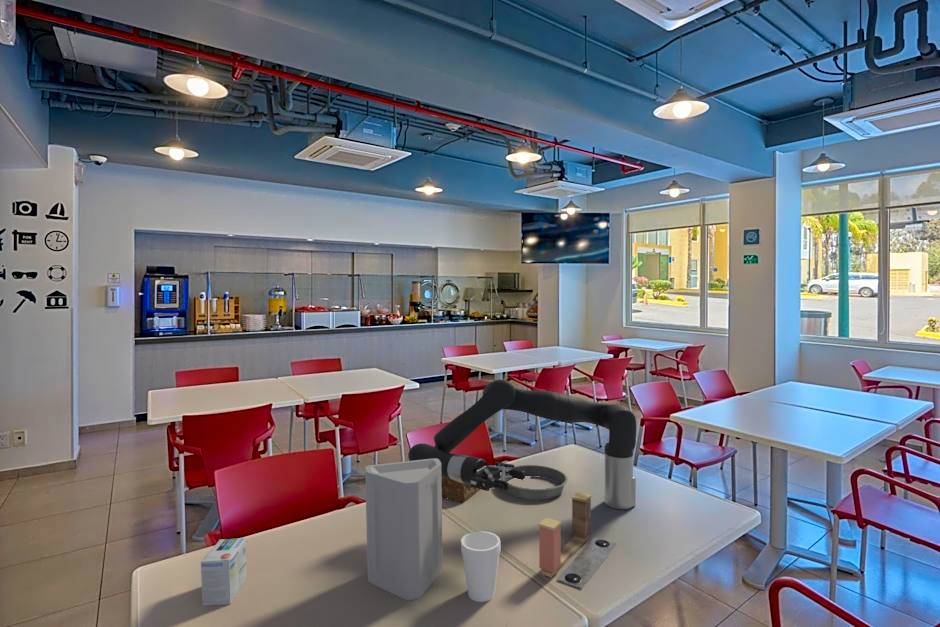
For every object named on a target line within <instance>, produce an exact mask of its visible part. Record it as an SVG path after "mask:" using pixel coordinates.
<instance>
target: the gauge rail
mask: <svg viewBox="0 0 940 627" xmlns="http://www.w3.org/2000/svg"><path fill="white" fill-rule="evenodd" d="M591 498H592V494H589V493H585V492H584V493H583V492H579V491H577V492H575V493H574V494H573V495H572V496H571V500H572V502H571V504H572V505H571V511H572V512H571V514H572V515H571V517H572V518H571V521H572V522H571V524H572V526H571V528H572V529H571V530H572V531H571V532H572V533H571V534H572V535H571V536H572V538H570V540H569V541H568V542H567V543H565V544H564V546H563V547H561V566H562V565H563V566H564V565H566V563H567V562H568V561H569V560H570V559H571V558H572V557H573V556H574V555H575V553H576V552H577V551H578V550H579V549H580V548H581V547H582V546H583V545H584V544H585V543H586V542H585V541H588V539H590V535H591V534H592V533H591V532H592V529H591V527H592V520H591V519H592V513H591V512H592V509H591V508H592V507H591V506H592V501H591V500H592V499H591ZM584 542H585V543H584ZM573 554H574V555H573ZM572 555H573V556H572ZM571 556H572V557H571ZM570 557H571V558H570ZM569 558H570V559H569ZM568 559H569V560H568ZM561 566H560V567H559V568H558V569H557V570H556V571H555V572H554V573H552V572H549V571H547V570H544V569H541V568H540V575H541V574H543V575H542V576H544V575H546V576H549V577H551V578H550V579H553V577H554V576H555V575H556V574H557V573H558V572H559V571H560V570H561V569H562V568H561ZM563 566H562V567H563ZM560 568H561V569H560ZM559 569H560V570H559ZM558 570H559V571H558ZM557 571H558V572H557ZM556 572H557V573H556ZM555 573H556V574H555ZM554 574H555V575H554ZM553 575H554V576H553ZM546 576H545V577H546ZM552 576H553V577H552ZM549 577H548V578H549Z"/></svg>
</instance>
